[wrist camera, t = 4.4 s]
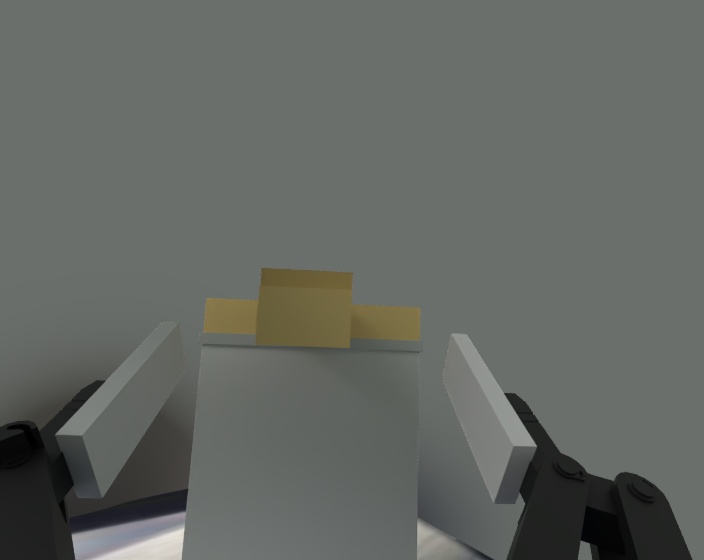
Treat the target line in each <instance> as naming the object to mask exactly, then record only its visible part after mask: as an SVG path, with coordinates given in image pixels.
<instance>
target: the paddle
mask: <svg viewBox="0 0 704 560" xmlns="http://www.w3.org/2000/svg"><path fill="white" fill-rule="evenodd" d="M352 276H353V273H349V272H331V271H330V272H329V271H311V270H291V269H270V268H262V273H261V286H260V287H259V300H240V299H239V300H238V299H217V298H207V300H206V311H205V322H204V332H209V333H235V334H256V339H255V345H280V346H307V347H335V348H350V338H365V339H391V340H416V341H420V308H419V307H418V308H417V307H396V306H373V305H352Z"/></svg>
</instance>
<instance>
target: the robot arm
mask: <svg viewBox="0 0 704 560" xmlns="http://www.w3.org/2000/svg"><path fill="white" fill-rule="evenodd" d="M185 371H186V365H185V357H184V351H183V344H182V337H181V330H180V324H179V322H169V321H168V322H167V321H162V322H161V324H160V325H159V326H158V327H157V328H156V329H155V330H154V331H153V332H152V333H151V334H150V335H149V336H148V337H147V338H146V339H145V340H144V342H142V344H141V345H140V346H139V347H138V348H137V349H136V350H135V351H134V352H133V353H132V354H131V355H130V356H129V357H128V358H127V359H126V361H125V362H124V363H123V364H122V365H121V366H120V367H119V368H118V369H117V370H116V371H115V372H114V373H113V374H112V375H111V376H110V377H109V378H108V379H107V380H106V381H95V382H94V383H92V384H90V385H88V386H87V387H85V388H84V389H82V390H81V391H80V392H79V393H78V394H77V395H76V396H75V397H74V398H73V399H72V401H71V402H69V403H68V404H67V405H66V406H65V407H64V408H63V410H62V411H60V412H59V413H58V414H57V415H56V416H55V417H54V418H53V419H52V420H51V421H49V423H48V424H47V425H45V426H44V427H43V428H42V429H41V430H40V431H39V430H38V428H37V426H36V424H35V423H34V422H31V421H17V422H13V423H9V424H6V425H4V426H2V427H0V560H75V555H74V548H73V542H72V535H71V528H70V521H69V516H68V509H67V503H66V500H65V498H64V497H65V496H66V494H67V493H68V492H69V490H70V489H71V488H72V486H74V488H75V491H76V494H77V497H78V498H103V496H104V495H105V493H106V491H107V490H108V488H109V487H110V485H111V484H112V482H113V481H114V479H115V478H116V476H117V475H118V473H119V472H120V470H121V468H122V467H123V465H124V464H125V462H126V461H127V459H128V458H129V456H130V454H131V453H132V452H133V450H134V449H135V447H136V446H137V444H138V443H139V441H140V440H141V438H142V436H143V435H144V433H145V432H146V430H147V429H148V427H149V426H150V424H151V423H152V421H153V420H154V418H155V417H156V415H157V414H158V412H159V410H160V409H161V407H162V406H163V404H164V403H165V401H166V400H167V398H168V397H169V395H170V394H171V392H172V391H173V389H174V387H175V386H176V384H177V383H178V381H179V380H180V378H181V377H182V375H183V374H184V372H185ZM442 380H443V382H444V385H445V387H446V390H447V392H448V394H449V397H450V399H451V402H452V404H453V407H454V409H455V411H456V414H457V416H458V418H459V421H460V424H461V426H462V428H463V431H464V433H465V436H466V438H467V440H468V443H469V445H470V448H471V450H472V453H473V455H474V457H475V460H476V462H477V464H478V467H479V469H480V472H481V474H482V477H483V479H484V481H485V484H486V486H487V488H488V491H489V494H490V496H491V498H492V501H493V503H494V504H515V503H516V500H517V498H518V495H519V493H520V494H521V496H522V498H523V500H524V502H525V506H524V509H523V512H522V514H521V516H520V519H519V521H518V527H517V530H516V533H515V536H514V539H513V542H512V545H511V548H510V551H509V554H508V557H507V560H578V553H579V547H580V541H584V542H588V543H590V548H591V554H592V560H692V558H691V555H690V553H689V551H688V548H687V545H686V543H685V541H684V538H683V536H682V533H681V531H680V529H679V526H678V524H677V521H676V519H675V517H674V514H673V512H672V509H671V507H670V505H669V502H668V500H667V499H666V497H665V495H664V494H663V493H662V492H661V491H660V490H659V489H658V488H657V487H656V486H655V485H654V484H652V483H651V482H649V481H648V480H646V479H645V478H643V477H640V476H638V475H636V474H632V473H628V472H624V473H620V474H618V475H617V476H616V478H615V480H614V481H611V480H608V479H604V478H601V477H598V476H594V475H591V474H588V473H587V472H586V471H585V469H584V468H583V467H582V466H581V465H580V464H579V463H578V462H577V461H575V460H574V459H572V458H571V457H569V456H566V455H564V454H561V453H560V452H559V450H558V449H557V447H556V446H555V444H554V443H553V441H552V440H551V438H550V437H549V436H548V434H547V433H546V431H545V430H544V428H543V427H542V426H541V424H540V423H539V421H538V420H537V418H536V417H535V415H533V412H532V411H531V409H530V408H529V406H528V405H527V404H526V402H525V401H523V400H522V399H521V398H520V397H518V396H517V395H516V394H515V393H503V391H502V390H501V388H500V387H499V385H498V384H497V382H496V381H495V379H494V377H493V376H492V374H491V373H490V371H489V369H488V368H487V366H486V364H485V363H484V361H483V360H482V358H481V357H480V355H479V353H478V352H477V350H476V349H475V347H474V345H473V344H472V342H471V341H470V339H469V337H468V336H467V334H451V338H450V342H449V347H448V352H447V357H446V361H445V366H444V371H443V375H442Z"/></svg>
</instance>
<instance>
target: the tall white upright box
mask: <svg viewBox="0 0 704 560" xmlns="http://www.w3.org/2000/svg"><path fill="white" fill-rule="evenodd" d="M255 339H256V334H235V333H209V332H200V333H199V344H200V343H201V344H202V353H201V363H200V374H199V385H198V394H197V406H196V415H195V426H194V436H193V447H192V457H191V468H190V478H189V489H188V499H187V510H186V520H185V531H184V541H183V552H182V560H417V497H418V431H419V430H418V429H419V363H420V362H419V360H420V352H423V341H421V340H420V341H416V340H391V339H365V338H350V348H335V347H307V346H280V345H255Z"/></svg>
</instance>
